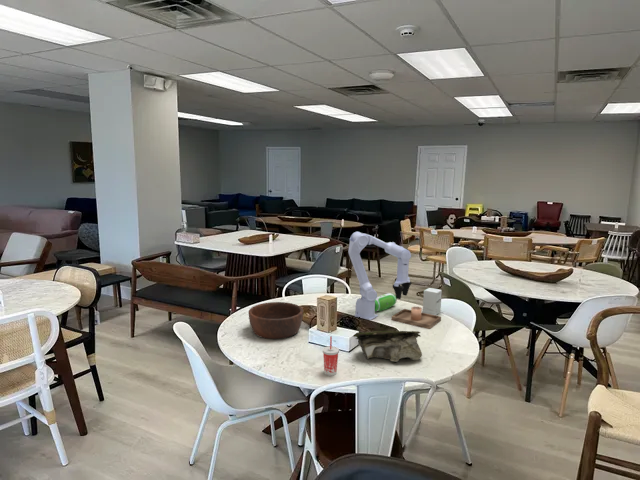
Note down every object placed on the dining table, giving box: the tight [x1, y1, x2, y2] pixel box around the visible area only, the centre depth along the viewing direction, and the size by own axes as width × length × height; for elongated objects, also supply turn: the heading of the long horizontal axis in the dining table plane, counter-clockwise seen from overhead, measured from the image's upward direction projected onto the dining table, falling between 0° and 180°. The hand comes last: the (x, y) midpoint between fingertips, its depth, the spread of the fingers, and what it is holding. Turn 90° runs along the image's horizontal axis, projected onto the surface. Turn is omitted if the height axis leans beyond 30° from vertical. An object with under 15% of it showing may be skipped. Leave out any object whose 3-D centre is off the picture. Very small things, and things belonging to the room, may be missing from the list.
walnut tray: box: [391, 308, 442, 330], centre depth 209 cm, size 20×15×2 cm
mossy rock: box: [352, 330, 423, 362], centre depth 165 cm, size 28×13×15 cm
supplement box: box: [422, 287, 443, 316], centre depth 220 cm, size 7×7×13 cm
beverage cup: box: [322, 335, 340, 376], centre depth 153 cm, size 6×6×14 cm
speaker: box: [375, 292, 398, 313], centre depth 226 cm, size 18×7×8 cm, turn 134°
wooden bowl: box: [248, 301, 304, 340], centre depth 193 cm, size 25×25×10 cm
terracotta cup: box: [410, 306, 423, 320], centre depth 209 cm, size 5×5×6 cm
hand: (401, 297), depth 217 cm, fingers open, 7 cm apart
